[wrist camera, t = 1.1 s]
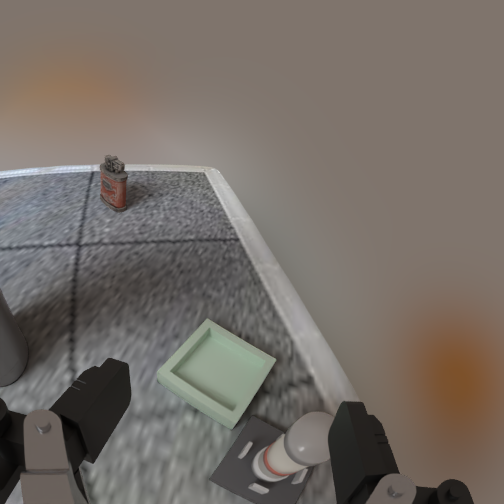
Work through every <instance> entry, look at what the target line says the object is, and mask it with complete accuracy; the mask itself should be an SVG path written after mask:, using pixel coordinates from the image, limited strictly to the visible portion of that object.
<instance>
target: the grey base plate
mask: <svg viewBox="0 0 504 504" xmlns="http://www.w3.org/2000/svg"><path fill="white" fill-rule="evenodd" d="M284 434H285V432H283V431H281V430H279V429H277V428H275V427H273V426H271V425H269V424H267V423H265V422H264V421H262V420H260V419H258V418H256V417H254V416H253V415H252V416H251V418H250V419H249V421H248V422H247V424H246V425H245V427H244V428H243V430H242V432H241V433H240V435H239V436H238V438H237V439H236V441H235V442H234V444H233V445H232V447H231V448H230V450H229V451H228V453H227V454H226V456H225V457H224V459H223V460H222V461H221V463H220V464H219V466H218V467H217V469H216V470H215V471H214V473H213V474H212V476H211V477H210V478H209V480H210V481H212V482H214V483H216V484H217V485H219V486H221V487H223V488H225V489H227V490H229V491H231V492H233V493H235V494H237V495H239V496H241V497H243V498H245V499H247V500H249V501H251V502H253V503H255V504H295V503H296V501H297V500H298V498H299V496H300V494H301V492H302V490H303V488H304V486H305V484H306V482H307V480H308V478H309V476H310V474H311V472H312V469H313V467H314V466H309V467H306V468H304V469H302V470H299V471H298V472H296V473H294V474H291V475H289V476H288V477H287V478H285V479H282V480H279V481H277V482H272V483H268V482H263V481H261V480H259V479H258V478H256V477H255V475H254V474H253V472H252V470H251V461H252V459H253V457H254V456H255V455H256V454H257V453H258V452H259V451H261V450H262V449H263V448H265V447H267V446H270V445H271V444H272V443H273V442H275V441H277V440H278V439H279V438H281V437H282V436H283V435H284Z"/></svg>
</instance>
